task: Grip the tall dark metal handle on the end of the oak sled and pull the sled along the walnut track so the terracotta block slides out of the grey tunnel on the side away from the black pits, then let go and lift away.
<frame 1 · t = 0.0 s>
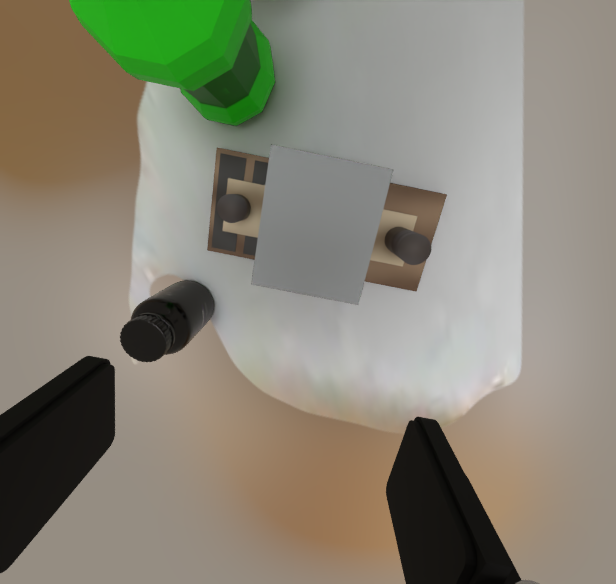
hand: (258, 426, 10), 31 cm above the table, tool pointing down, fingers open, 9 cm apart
supplement bottle: (191, 302, 42), on the table
tunnel: (318, 221, 38), resting on track board
plastic bottle: (236, 83, 34), on the table
track board: (322, 222, 38), on the table
sled: (318, 226, 33), point 6 cm above the table, slide at 0.0 cm
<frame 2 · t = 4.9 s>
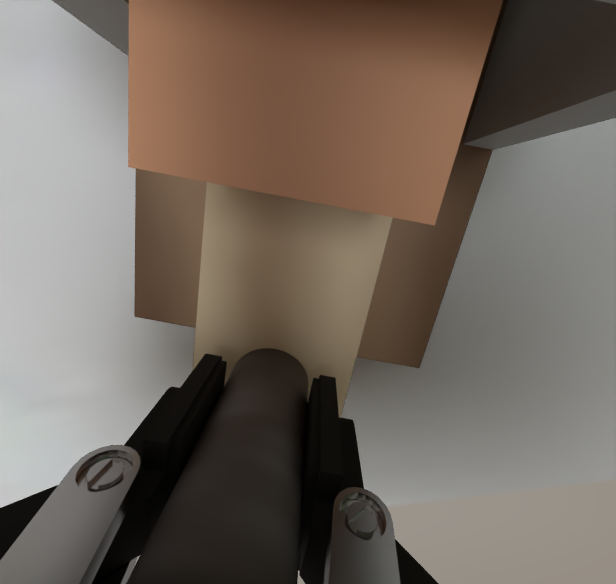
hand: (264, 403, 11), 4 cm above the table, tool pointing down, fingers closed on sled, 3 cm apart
sled: (314, 66, 6), point 6 cm above the table, slide at 5.6 cm, touching gripper
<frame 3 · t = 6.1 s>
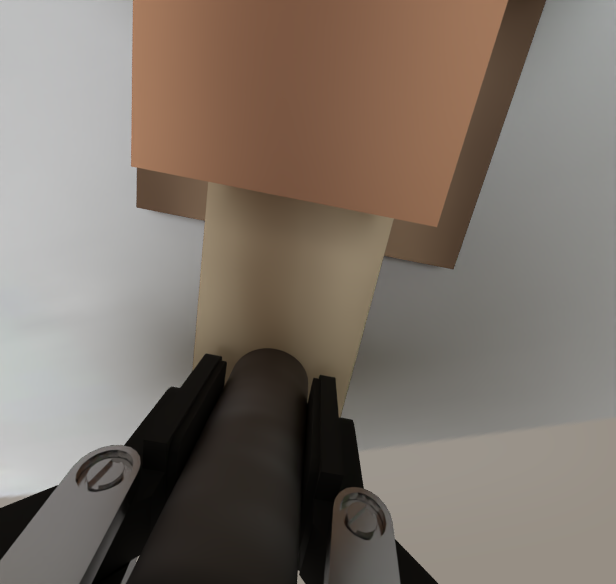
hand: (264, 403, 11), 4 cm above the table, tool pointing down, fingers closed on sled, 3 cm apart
sled: (317, 66, 6), point 5 cm above the table, slide at 10.0 cm, touching gripper
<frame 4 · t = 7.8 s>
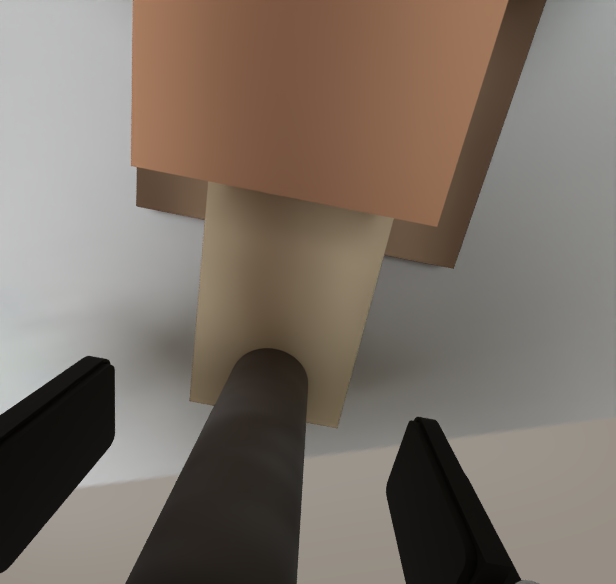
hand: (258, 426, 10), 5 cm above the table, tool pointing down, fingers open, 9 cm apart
sled: (317, 66, 6), point 6 cm above the table, slide at 10.0 cm
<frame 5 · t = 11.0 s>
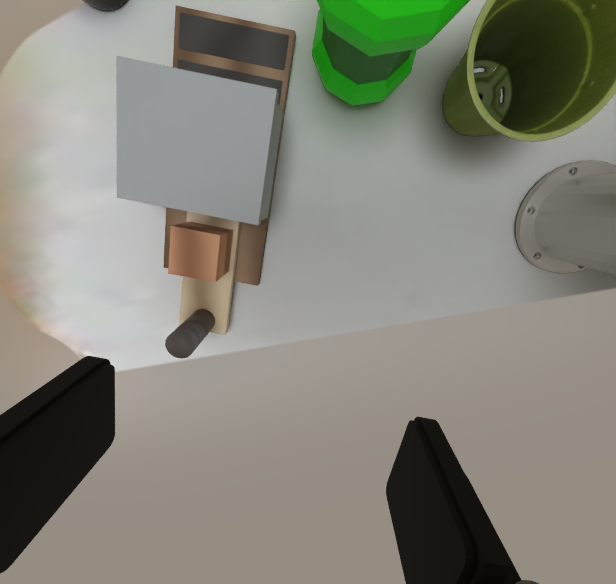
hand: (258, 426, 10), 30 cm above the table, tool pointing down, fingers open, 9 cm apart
plant pot: (475, 98, 33), on the table
tunnel: (225, 159, 36), resting on track board
plastic bottle: (359, 62, 32), on the table
track board: (224, 163, 36), on the table
sled: (200, 251, 33), point 6 cm above the table, slide at 10.0 cm
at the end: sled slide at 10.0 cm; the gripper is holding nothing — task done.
